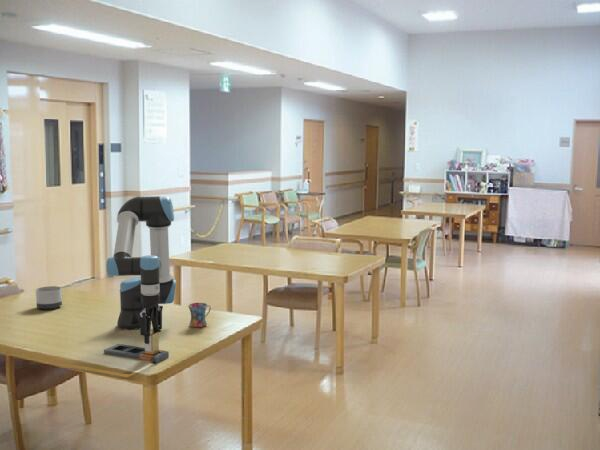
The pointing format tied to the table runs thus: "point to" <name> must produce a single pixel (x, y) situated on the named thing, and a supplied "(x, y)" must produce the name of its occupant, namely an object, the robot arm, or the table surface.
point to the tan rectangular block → (154, 344)
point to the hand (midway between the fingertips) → (151, 349)
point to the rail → (136, 353)
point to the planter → (48, 297)
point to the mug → (198, 314)
